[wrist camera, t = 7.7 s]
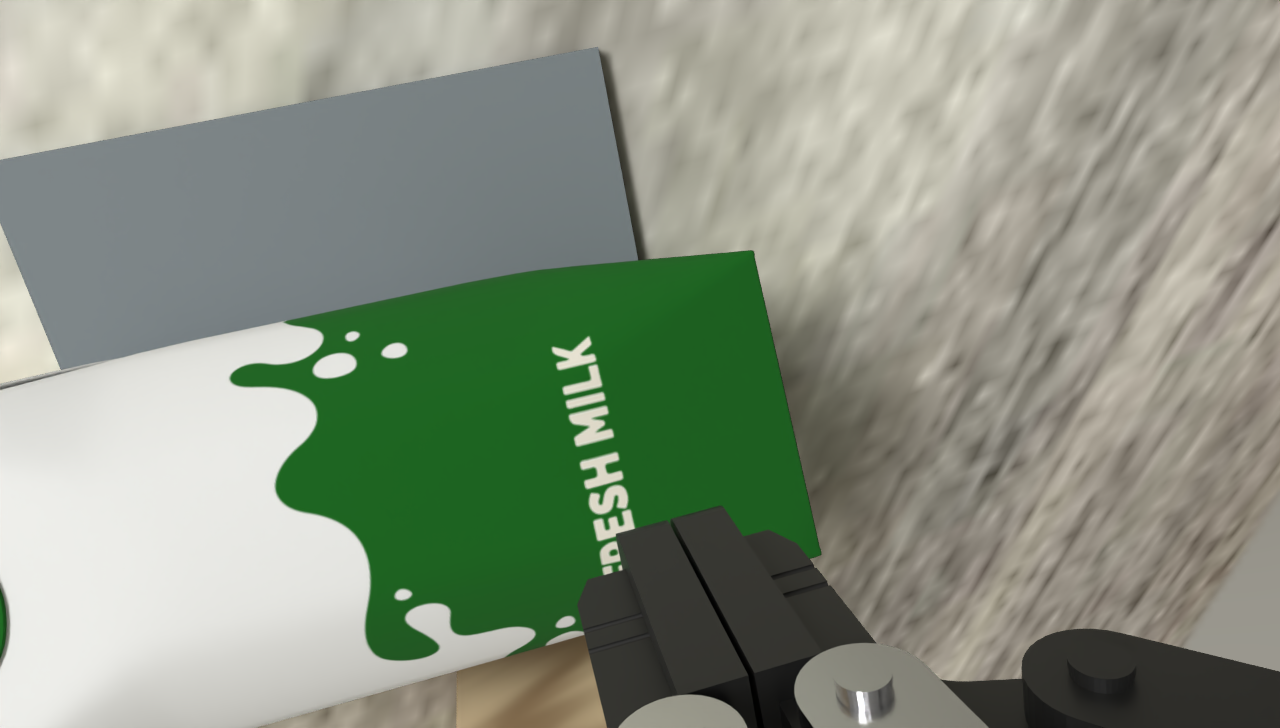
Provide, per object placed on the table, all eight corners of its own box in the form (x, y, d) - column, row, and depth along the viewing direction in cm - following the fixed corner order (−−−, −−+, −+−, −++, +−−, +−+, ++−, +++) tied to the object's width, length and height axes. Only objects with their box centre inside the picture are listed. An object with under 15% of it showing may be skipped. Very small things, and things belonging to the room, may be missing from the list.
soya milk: (849, 605, 18) (-204, 909, 15) (736, 529, 27) (57, 711, 24) (758, 198, 18) (-329, 423, 15) (674, 256, 27) (-19, 404, 24)
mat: (595, 47, 24) (597, 46, 24) (685, 522, 29) (688, 527, 28) (-16, 163, 22) (-24, 164, 22) (186, 656, 27) (182, 663, 26)
